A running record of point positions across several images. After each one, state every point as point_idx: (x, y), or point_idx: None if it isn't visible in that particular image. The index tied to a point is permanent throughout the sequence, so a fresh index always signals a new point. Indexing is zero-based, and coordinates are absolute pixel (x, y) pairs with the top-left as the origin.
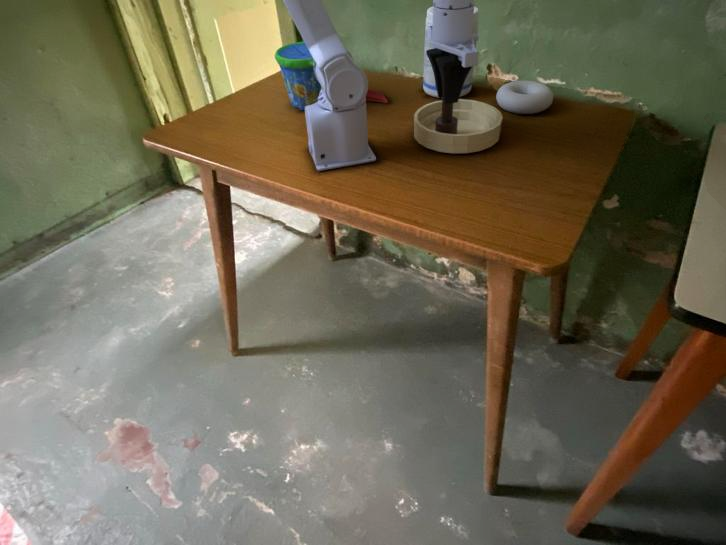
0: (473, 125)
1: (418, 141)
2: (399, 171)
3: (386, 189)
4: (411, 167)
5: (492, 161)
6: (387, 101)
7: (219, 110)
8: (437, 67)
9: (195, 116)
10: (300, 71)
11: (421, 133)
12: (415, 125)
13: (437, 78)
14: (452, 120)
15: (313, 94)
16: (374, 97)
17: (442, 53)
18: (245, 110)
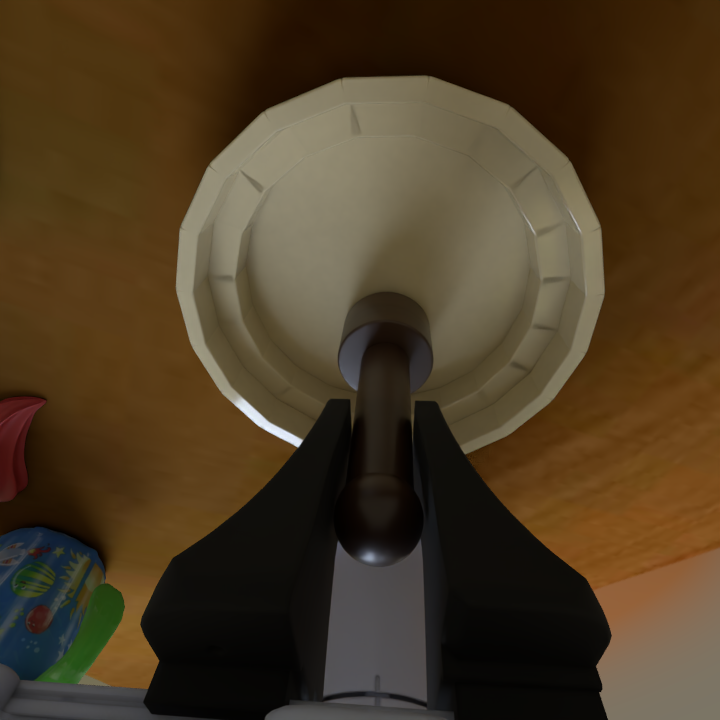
0: (338, 186)
1: None
2: (525, 491)
3: (589, 532)
4: (522, 464)
5: (651, 235)
6: (36, 400)
7: (94, 662)
8: (328, 606)
9: (121, 684)
10: None
11: None
12: None
13: (336, 541)
14: (399, 345)
15: (84, 604)
16: (17, 436)
17: (313, 691)
18: None
